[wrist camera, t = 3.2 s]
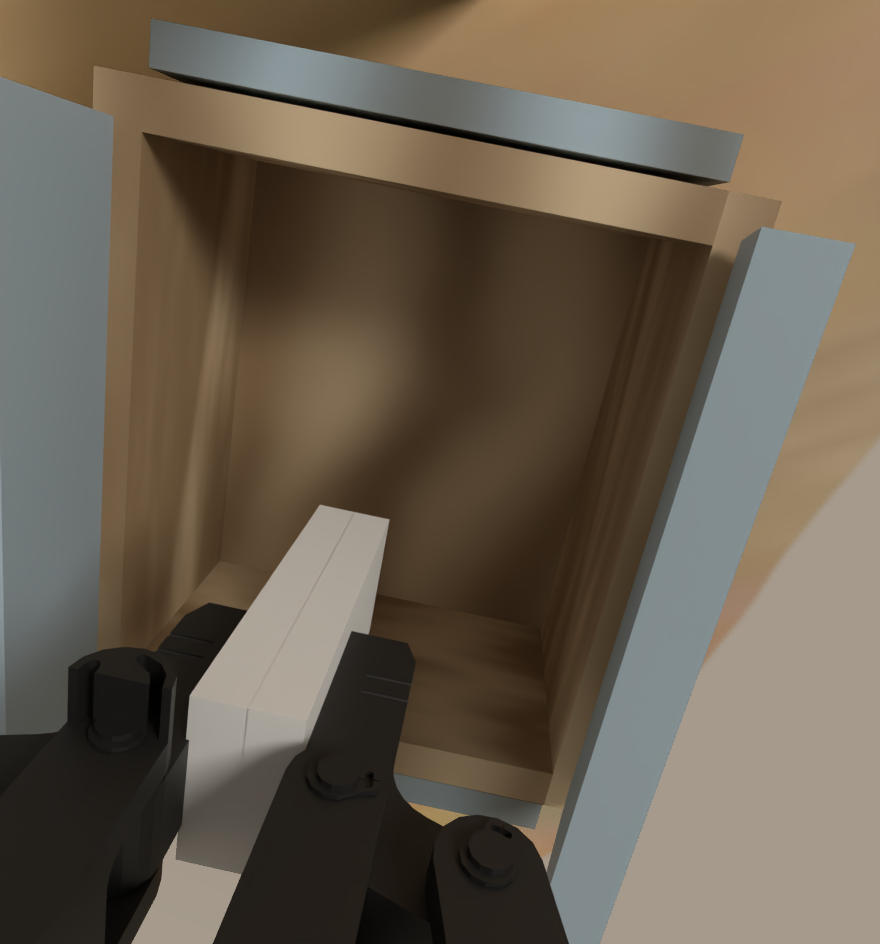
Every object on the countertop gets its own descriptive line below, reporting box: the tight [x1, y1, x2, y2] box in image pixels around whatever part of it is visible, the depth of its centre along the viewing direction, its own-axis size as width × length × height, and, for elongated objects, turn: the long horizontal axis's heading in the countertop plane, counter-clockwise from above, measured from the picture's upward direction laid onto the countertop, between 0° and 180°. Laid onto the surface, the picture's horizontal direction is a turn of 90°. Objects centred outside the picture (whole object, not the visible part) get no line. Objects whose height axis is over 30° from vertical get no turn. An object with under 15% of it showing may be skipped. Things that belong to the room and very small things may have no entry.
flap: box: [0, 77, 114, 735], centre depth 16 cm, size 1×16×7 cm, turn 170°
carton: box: [93, 18, 782, 829], centre depth 24 cm, size 16×20×9 cm
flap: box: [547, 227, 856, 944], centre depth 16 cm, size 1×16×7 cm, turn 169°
